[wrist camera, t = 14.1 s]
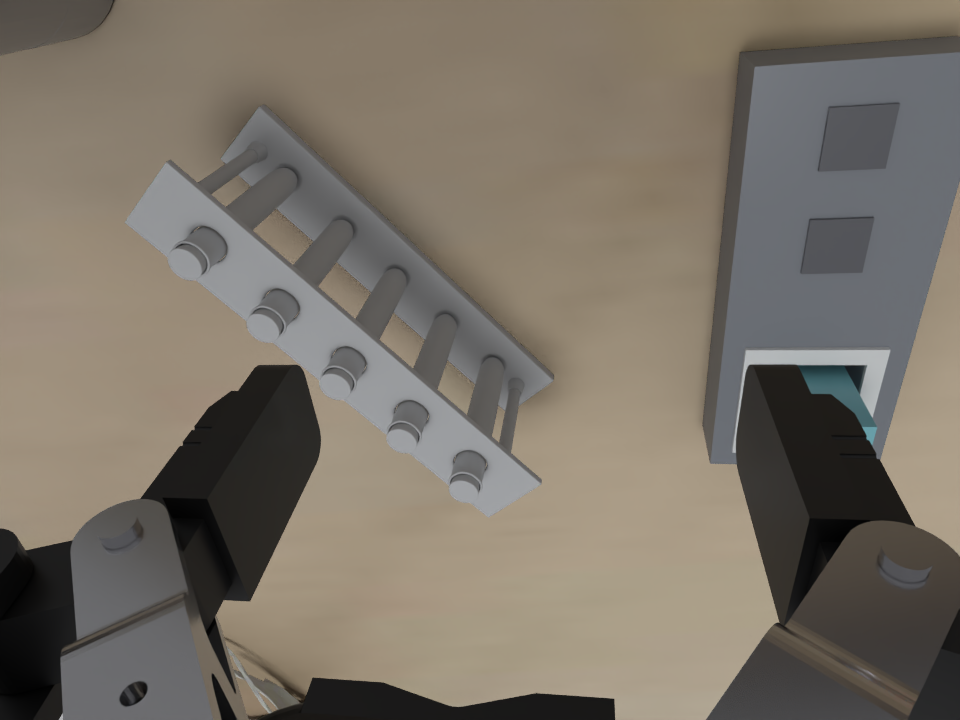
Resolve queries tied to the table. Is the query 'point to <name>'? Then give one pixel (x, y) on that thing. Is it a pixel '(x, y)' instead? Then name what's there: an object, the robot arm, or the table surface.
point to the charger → (839, 391)
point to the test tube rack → (328, 327)
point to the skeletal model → (265, 688)
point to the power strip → (832, 217)
